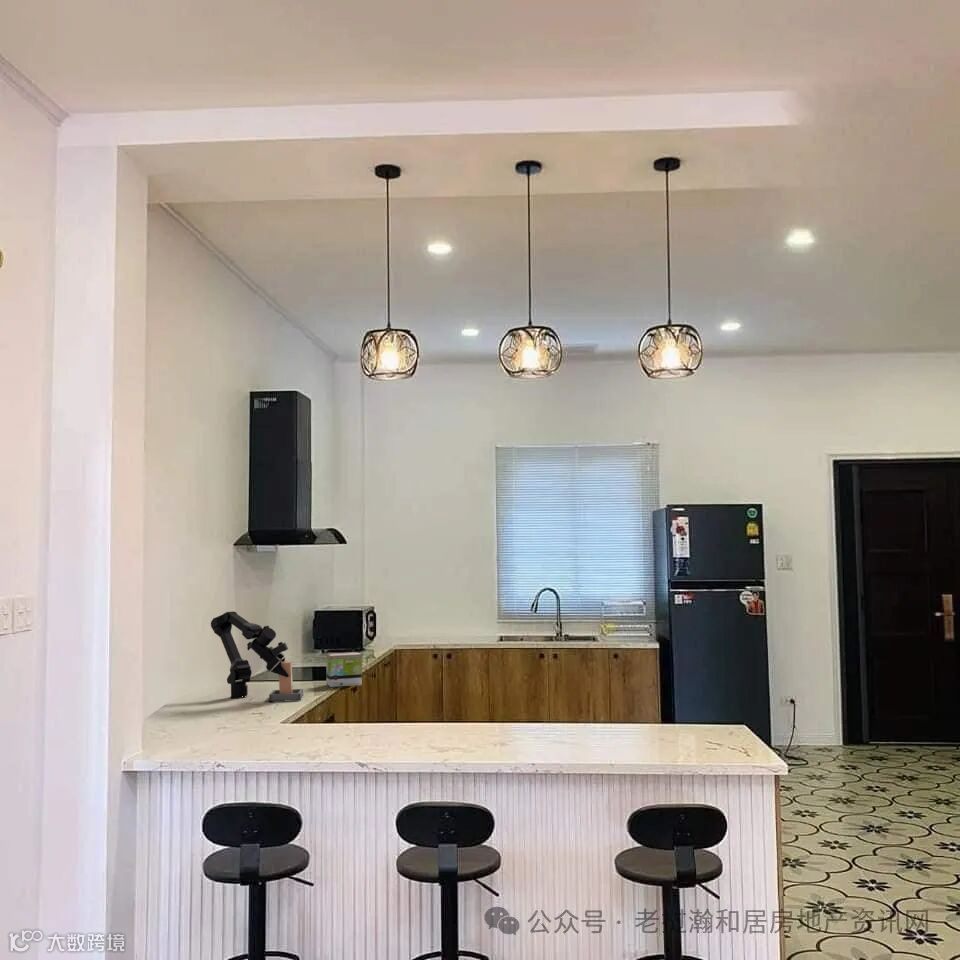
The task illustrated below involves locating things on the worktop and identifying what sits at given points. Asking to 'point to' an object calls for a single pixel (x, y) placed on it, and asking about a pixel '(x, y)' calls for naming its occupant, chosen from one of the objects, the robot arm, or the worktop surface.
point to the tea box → (344, 669)
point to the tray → (286, 695)
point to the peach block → (286, 679)
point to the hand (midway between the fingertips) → (289, 675)
